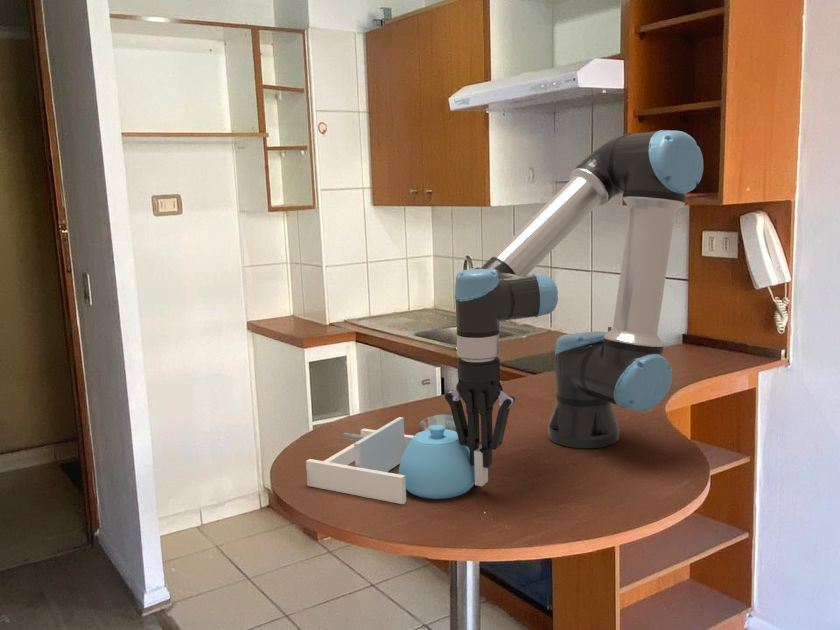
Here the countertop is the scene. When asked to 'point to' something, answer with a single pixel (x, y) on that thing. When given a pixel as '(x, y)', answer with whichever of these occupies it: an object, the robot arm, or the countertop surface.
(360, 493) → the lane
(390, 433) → the pusher
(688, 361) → the countertop surface
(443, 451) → the sugar bowl
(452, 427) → the packaged food
